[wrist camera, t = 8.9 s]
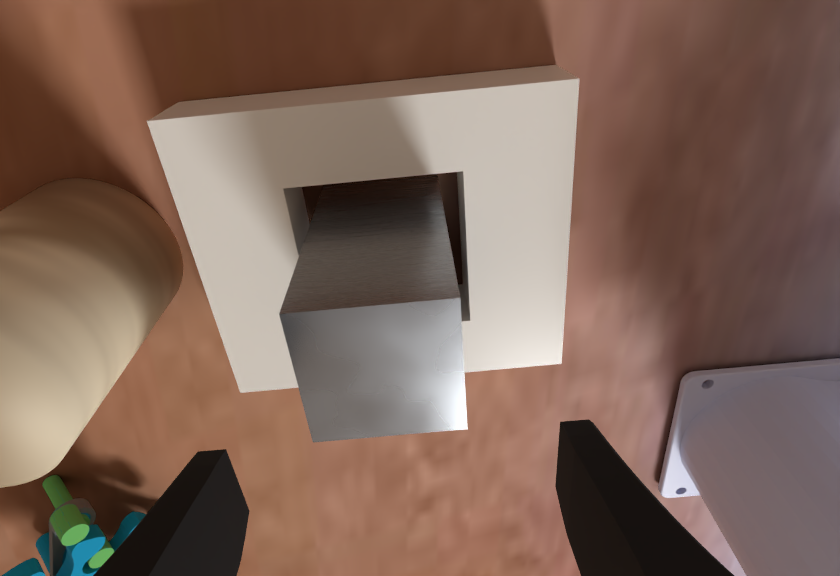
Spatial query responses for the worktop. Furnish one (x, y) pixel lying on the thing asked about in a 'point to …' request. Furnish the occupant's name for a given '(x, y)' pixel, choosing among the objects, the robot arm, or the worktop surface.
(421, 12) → the worktop surface
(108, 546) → the gear
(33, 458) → the round peg
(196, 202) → the socket block
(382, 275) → the square peg
